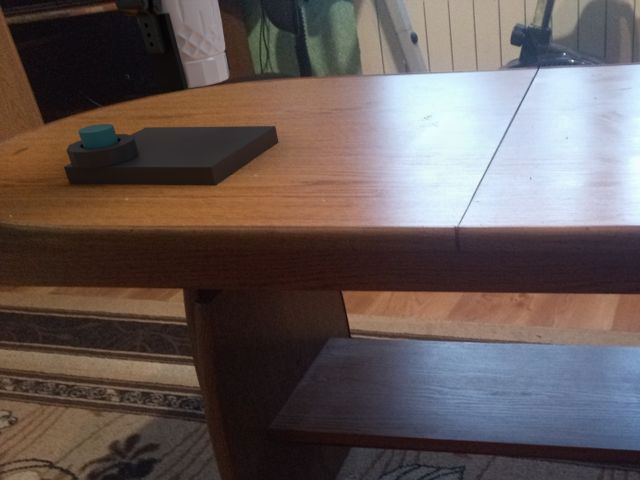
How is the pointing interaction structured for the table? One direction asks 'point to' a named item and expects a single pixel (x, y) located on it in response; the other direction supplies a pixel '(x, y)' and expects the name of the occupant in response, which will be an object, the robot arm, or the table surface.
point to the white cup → (199, 40)
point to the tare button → (98, 136)
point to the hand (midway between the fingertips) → (196, 78)
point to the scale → (170, 156)
